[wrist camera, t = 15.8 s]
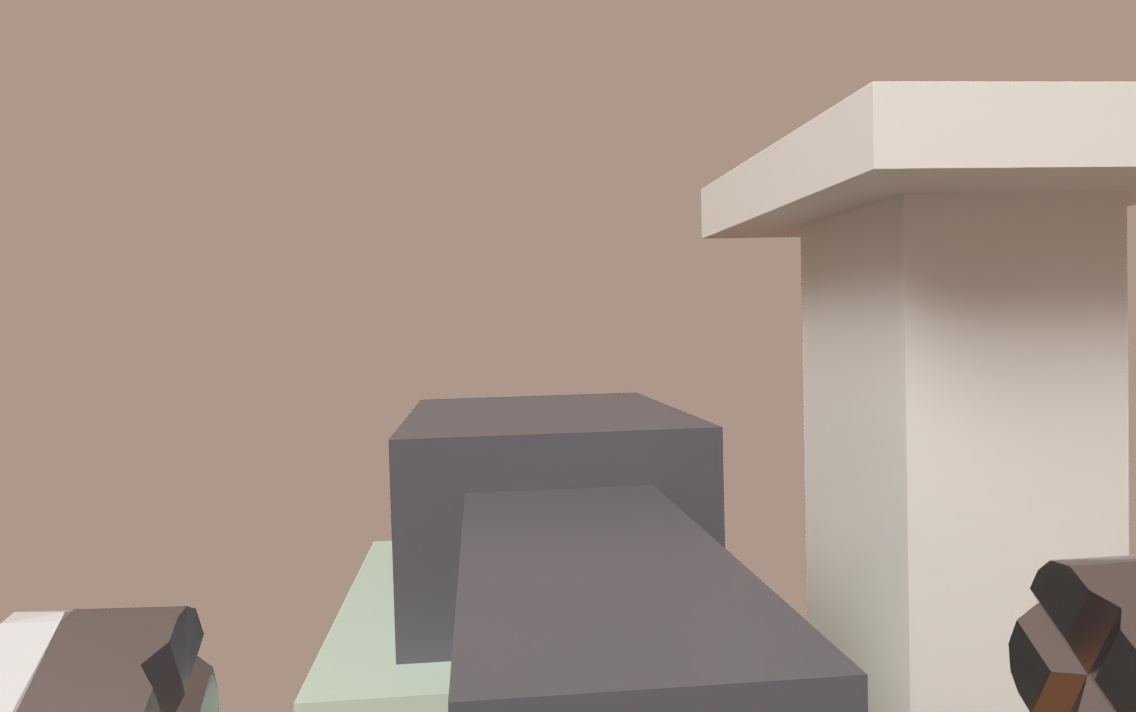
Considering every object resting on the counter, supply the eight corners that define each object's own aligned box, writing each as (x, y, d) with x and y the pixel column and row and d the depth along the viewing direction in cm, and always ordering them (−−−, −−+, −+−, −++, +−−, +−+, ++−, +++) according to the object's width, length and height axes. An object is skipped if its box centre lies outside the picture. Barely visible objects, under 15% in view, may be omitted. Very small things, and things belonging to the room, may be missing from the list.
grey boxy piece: (1021, 1015, 8) (1016, 545, 7) (290, 1095, 7) (271, 584, 7) (627, 518, 27) (624, 387, 27) (429, 527, 27) (425, 394, 27)
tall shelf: (989, 991, 29) (980, 186, 28) (1343, 1449, 17) (1346, 81, 16) (718, 1019, 28) (701, 189, 27) (893, 1522, 16) (872, 81, 16)
